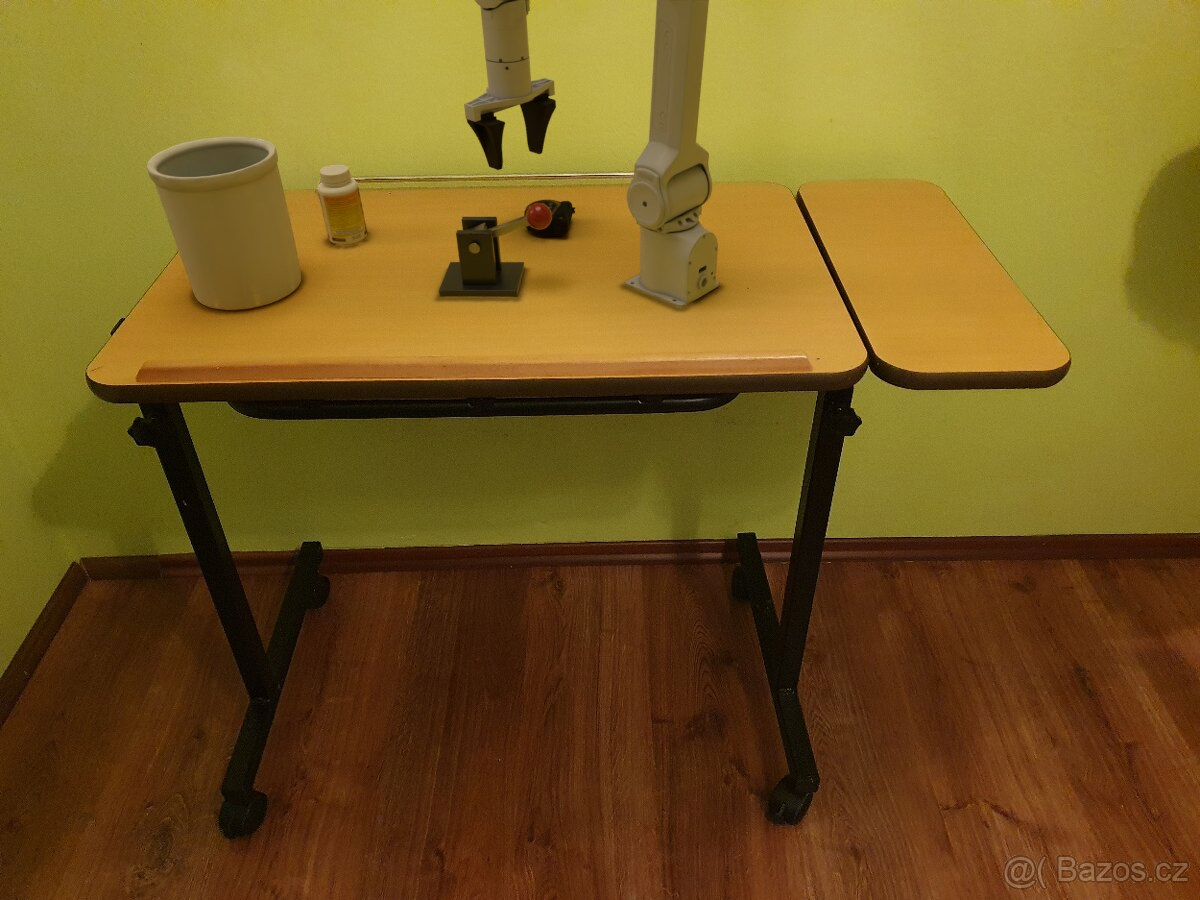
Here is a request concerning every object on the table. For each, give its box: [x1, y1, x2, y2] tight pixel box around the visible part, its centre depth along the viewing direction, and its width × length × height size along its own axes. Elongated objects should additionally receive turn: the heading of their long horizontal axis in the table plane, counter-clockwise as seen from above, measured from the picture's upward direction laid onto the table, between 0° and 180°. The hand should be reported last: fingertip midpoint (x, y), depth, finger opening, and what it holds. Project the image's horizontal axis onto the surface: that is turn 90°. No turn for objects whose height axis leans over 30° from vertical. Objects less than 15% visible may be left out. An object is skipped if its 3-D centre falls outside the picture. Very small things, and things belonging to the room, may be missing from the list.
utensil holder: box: [146, 136, 302, 311], centre depth 114 cm, size 15×15×18 cm
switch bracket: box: [438, 216, 525, 298], centre depth 116 cm, size 10×8×8 cm
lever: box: [466, 203, 552, 238], centre depth 113 cm, size 12×3×3 cm, turn 87°
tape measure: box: [523, 199, 576, 238], centre depth 129 cm, size 7×7×4 cm
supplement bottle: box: [317, 163, 368, 246], centre depth 127 cm, size 6×6×10 cm
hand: (516, 159), depth 126 cm, fingers open, 7 cm apart
